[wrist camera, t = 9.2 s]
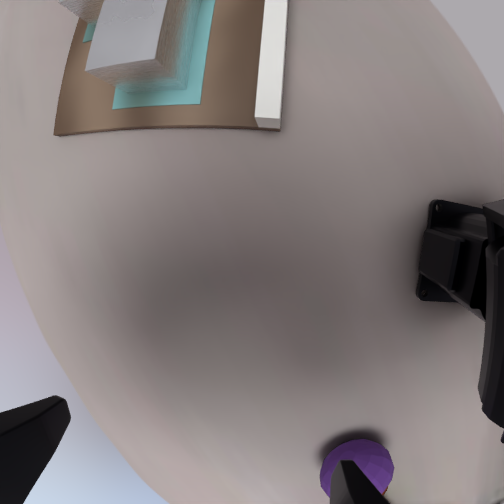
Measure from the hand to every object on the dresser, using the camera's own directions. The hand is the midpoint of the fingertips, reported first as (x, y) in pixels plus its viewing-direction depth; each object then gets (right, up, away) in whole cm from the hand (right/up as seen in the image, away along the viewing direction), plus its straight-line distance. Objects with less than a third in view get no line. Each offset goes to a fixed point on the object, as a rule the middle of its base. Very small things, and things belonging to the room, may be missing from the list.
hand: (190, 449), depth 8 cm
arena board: (-4, +22, +8) cm, 23 cm away
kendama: (+14, -17, +15) cm, 26 cm away
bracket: (-6, +21, +8) cm, 23 cm away
